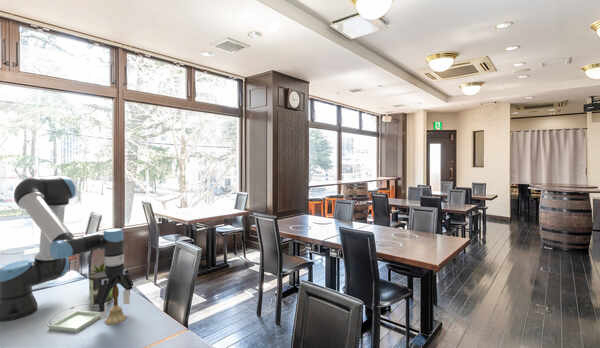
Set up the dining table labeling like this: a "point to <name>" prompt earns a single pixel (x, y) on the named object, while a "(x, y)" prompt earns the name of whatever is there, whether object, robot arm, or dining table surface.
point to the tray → (75, 321)
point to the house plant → (97, 269)
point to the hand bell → (115, 310)
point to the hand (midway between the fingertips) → (115, 310)
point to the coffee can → (97, 287)
